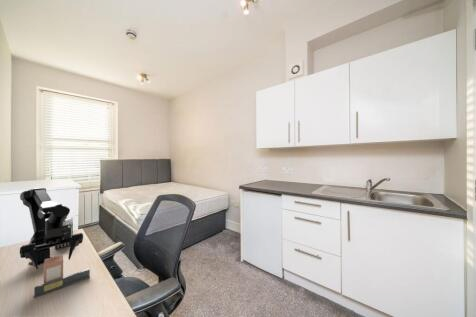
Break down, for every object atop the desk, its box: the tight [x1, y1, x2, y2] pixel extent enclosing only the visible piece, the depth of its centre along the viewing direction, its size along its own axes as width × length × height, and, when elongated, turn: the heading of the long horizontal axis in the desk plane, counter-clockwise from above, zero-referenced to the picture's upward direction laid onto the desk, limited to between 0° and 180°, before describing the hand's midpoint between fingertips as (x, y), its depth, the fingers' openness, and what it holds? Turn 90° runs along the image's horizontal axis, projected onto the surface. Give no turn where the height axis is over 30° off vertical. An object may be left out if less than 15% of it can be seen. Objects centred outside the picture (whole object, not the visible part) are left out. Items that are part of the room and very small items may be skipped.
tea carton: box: [43, 254, 64, 284], centre depth 74 cm, size 6×6×10 cm
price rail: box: [33, 268, 91, 299], centre depth 73 cm, size 2×16×4 cm, turn 136°
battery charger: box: [54, 226, 71, 250], centre depth 104 cm, size 7×4×11 cm, turn 140°
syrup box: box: [63, 216, 74, 235], centre depth 110 cm, size 6×6×14 cm
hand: (53, 264), depth 73 cm, fingers open, 9 cm apart
